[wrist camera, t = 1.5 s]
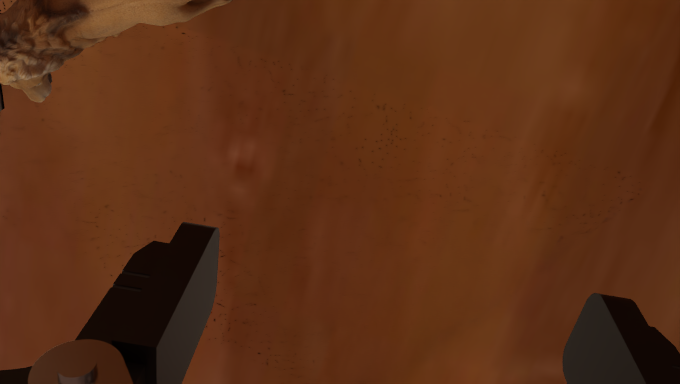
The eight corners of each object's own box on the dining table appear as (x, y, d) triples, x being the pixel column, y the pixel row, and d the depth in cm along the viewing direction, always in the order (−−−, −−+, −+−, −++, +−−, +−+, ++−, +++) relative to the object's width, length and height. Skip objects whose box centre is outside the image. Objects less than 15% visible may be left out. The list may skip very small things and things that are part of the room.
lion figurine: (78, 75, 32) (1, 124, 25) (29, 2, 30) (-67, 34, 24) (265, -14, 29) (231, 16, 22) (224, -102, 27) (173, -97, 21)
